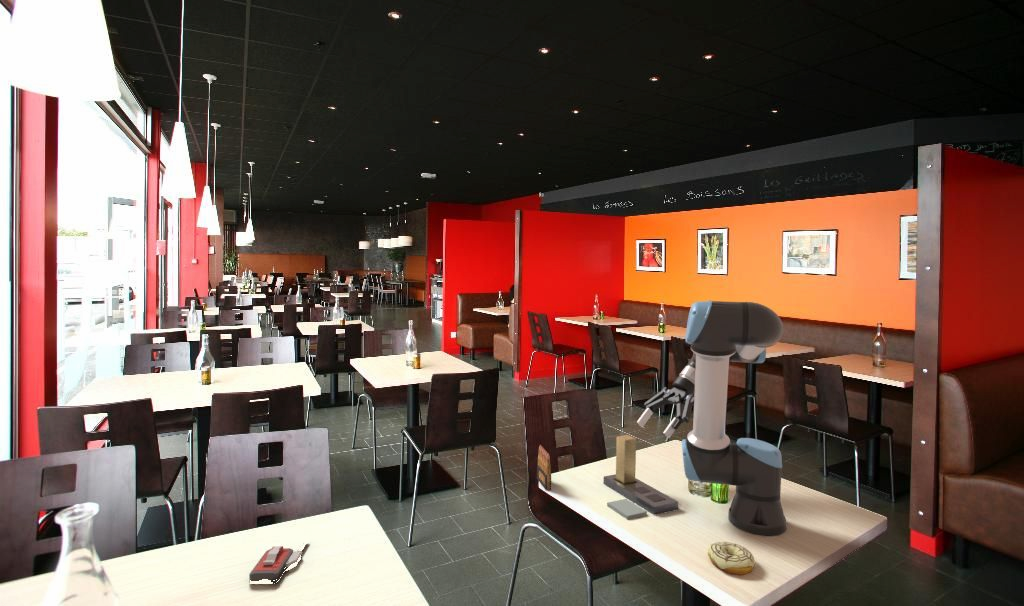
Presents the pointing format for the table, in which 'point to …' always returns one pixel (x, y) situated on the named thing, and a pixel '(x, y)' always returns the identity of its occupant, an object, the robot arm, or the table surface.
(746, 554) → the decorated donut
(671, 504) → the dark square socket tray
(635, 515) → the rubber mat
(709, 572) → the table surface
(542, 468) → the brown upright box
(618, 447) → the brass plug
